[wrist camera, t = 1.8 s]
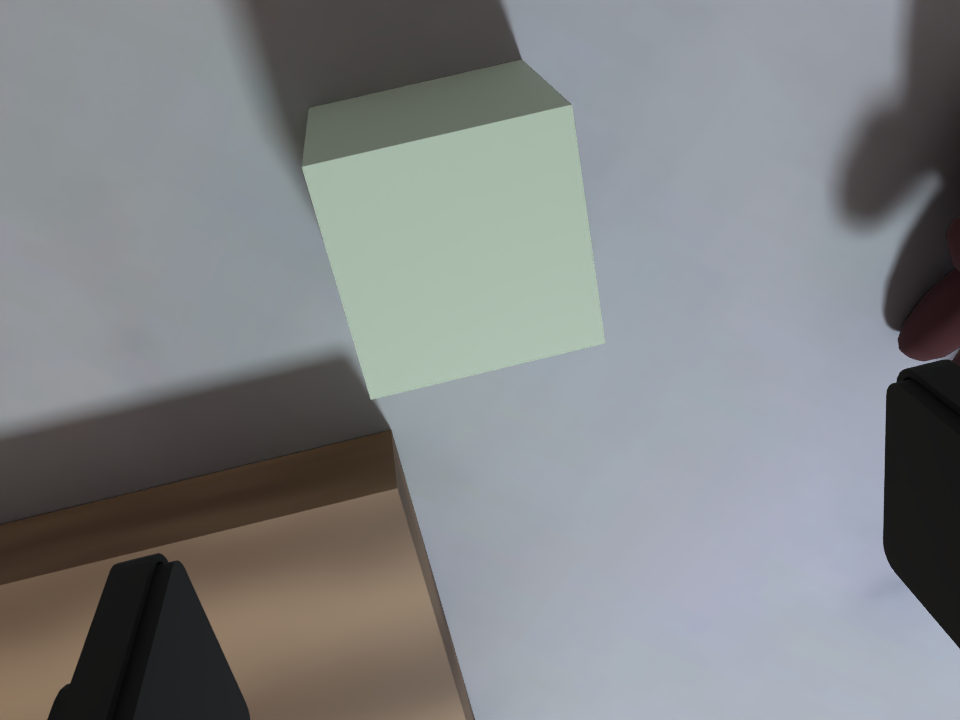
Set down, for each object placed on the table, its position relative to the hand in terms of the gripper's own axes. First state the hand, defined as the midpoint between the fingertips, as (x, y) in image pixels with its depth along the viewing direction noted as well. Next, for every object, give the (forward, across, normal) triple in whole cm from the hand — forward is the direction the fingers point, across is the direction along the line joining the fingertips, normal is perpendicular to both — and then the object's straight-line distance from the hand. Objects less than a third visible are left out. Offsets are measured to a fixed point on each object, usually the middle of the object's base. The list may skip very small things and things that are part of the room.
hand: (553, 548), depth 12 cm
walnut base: (+14, +10, +13) cm, 22 cm away
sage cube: (+14, 0, -1) cm, 14 cm away
